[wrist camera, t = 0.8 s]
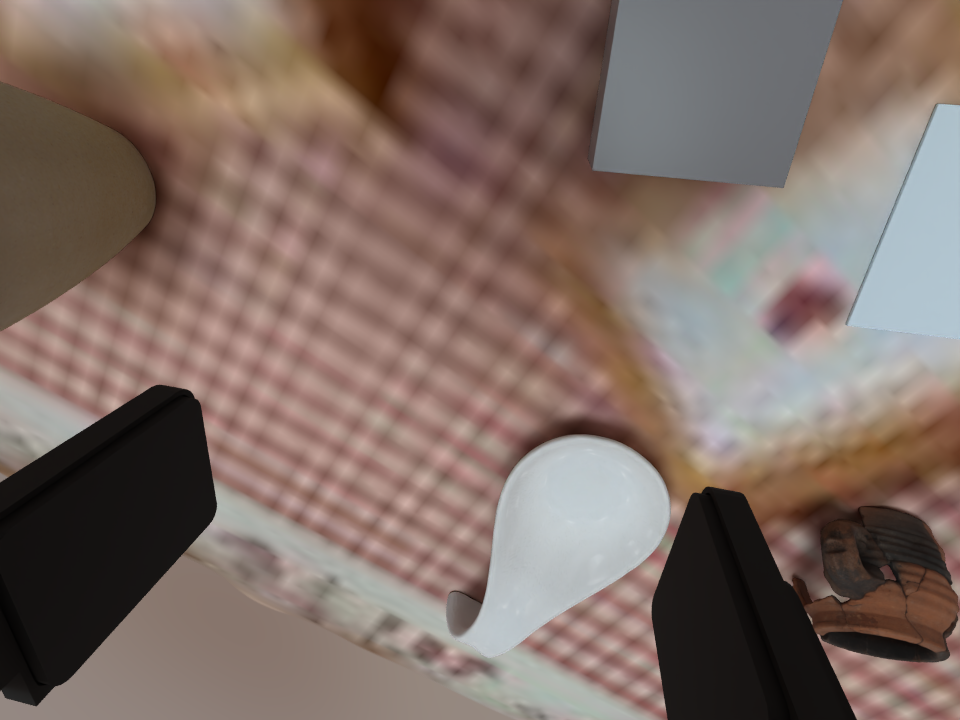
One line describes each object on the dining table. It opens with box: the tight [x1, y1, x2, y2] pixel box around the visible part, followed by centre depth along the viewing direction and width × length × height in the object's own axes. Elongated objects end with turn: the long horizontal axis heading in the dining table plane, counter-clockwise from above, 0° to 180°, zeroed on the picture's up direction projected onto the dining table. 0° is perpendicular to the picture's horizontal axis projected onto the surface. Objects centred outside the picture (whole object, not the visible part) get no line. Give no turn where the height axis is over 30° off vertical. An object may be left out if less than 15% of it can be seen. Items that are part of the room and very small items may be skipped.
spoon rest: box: [446, 434, 671, 657], centre depth 39 cm, size 24×12×7 cm, turn 151°
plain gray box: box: [588, 0, 843, 188], centre depth 23 cm, size 10×8×9 cm
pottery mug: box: [792, 507, 959, 662], centre depth 35 cm, size 12×10×8 cm
